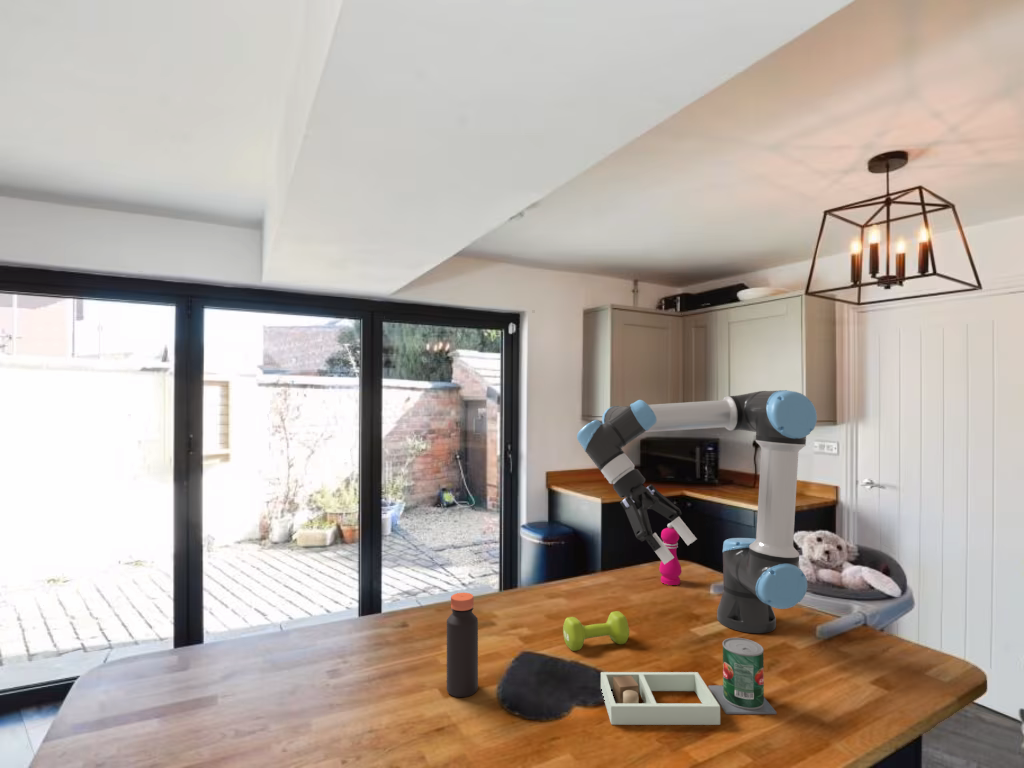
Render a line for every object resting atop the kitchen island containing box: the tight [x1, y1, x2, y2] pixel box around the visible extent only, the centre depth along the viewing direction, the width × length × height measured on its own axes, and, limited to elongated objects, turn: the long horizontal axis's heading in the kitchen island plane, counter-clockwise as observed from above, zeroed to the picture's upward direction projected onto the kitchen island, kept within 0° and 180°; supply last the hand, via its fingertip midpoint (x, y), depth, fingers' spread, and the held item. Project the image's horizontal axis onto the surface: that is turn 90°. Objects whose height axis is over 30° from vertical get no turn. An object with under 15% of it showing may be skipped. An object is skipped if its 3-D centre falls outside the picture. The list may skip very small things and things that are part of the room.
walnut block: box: [612, 676, 640, 703], centre depth 114 cm, size 4×4×4 cm
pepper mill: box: [658, 522, 682, 586], centre depth 185 cm, size 7×7×20 cm
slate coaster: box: [707, 684, 778, 715], centre depth 114 cm, size 10×10×1 cm
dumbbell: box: [562, 610, 630, 652], centre depth 140 cm, size 16×8×7 cm, turn 106°
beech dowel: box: [623, 690, 638, 703], centre depth 109 cm, size 3×3×4 cm
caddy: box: [600, 671, 721, 726], centre depth 112 cm, size 21×13×4 cm, turn 90°
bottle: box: [446, 592, 479, 698], centre depth 118 cm, size 7×7×20 cm
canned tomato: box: [722, 637, 765, 710], centre depth 114 cm, size 8×8×11 cm
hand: (681, 551), depth 126 cm, fingers open, 13 cm apart
